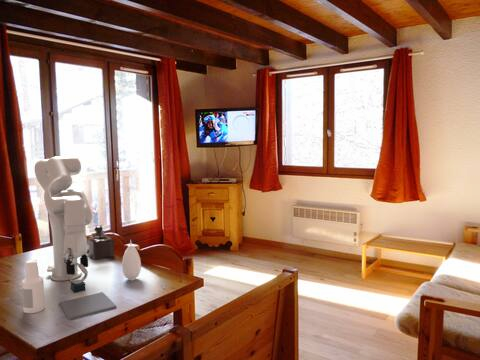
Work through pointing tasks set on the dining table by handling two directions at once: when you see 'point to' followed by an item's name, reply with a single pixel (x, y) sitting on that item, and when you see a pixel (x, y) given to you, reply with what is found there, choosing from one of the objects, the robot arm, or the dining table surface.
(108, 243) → the coffee grinder
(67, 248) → the robot arm
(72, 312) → the mat
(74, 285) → the watch
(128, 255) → the white eggplant
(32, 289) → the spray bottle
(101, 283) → the dining table surface
